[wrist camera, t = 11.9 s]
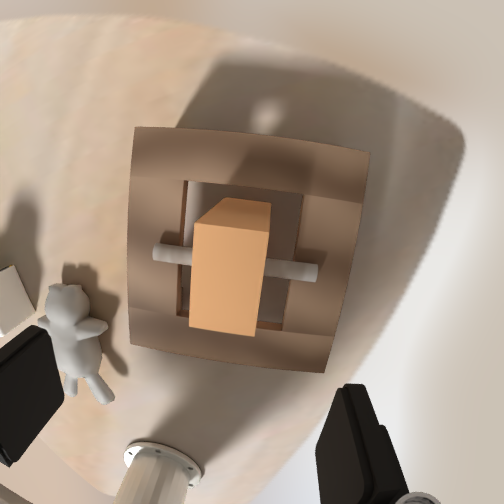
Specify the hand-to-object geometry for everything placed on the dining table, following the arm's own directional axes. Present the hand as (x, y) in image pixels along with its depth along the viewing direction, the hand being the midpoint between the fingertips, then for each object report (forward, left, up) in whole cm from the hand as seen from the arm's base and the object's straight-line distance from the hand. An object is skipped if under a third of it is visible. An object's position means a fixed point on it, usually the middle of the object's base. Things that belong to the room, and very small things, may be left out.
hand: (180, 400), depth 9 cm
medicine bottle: (-12, +31, -22) cm, 40 cm away
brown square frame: (0, 0, -22) cm, 22 cm away
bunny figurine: (-15, +18, -22) cm, 32 cm away
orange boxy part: (+1, 0, -20) cm, 20 cm away
